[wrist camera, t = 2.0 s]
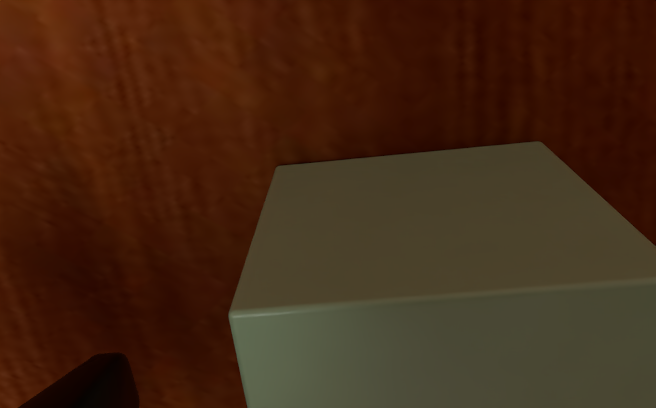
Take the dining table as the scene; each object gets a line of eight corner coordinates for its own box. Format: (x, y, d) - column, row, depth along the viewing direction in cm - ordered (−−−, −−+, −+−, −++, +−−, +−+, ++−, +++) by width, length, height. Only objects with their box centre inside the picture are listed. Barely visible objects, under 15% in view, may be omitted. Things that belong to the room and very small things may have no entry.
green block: (533, 358, 11) (642, 588, 7) (307, 374, 12) (287, 605, 7) (542, 139, 10) (692, 276, 5) (275, 165, 10) (225, 313, 6)
